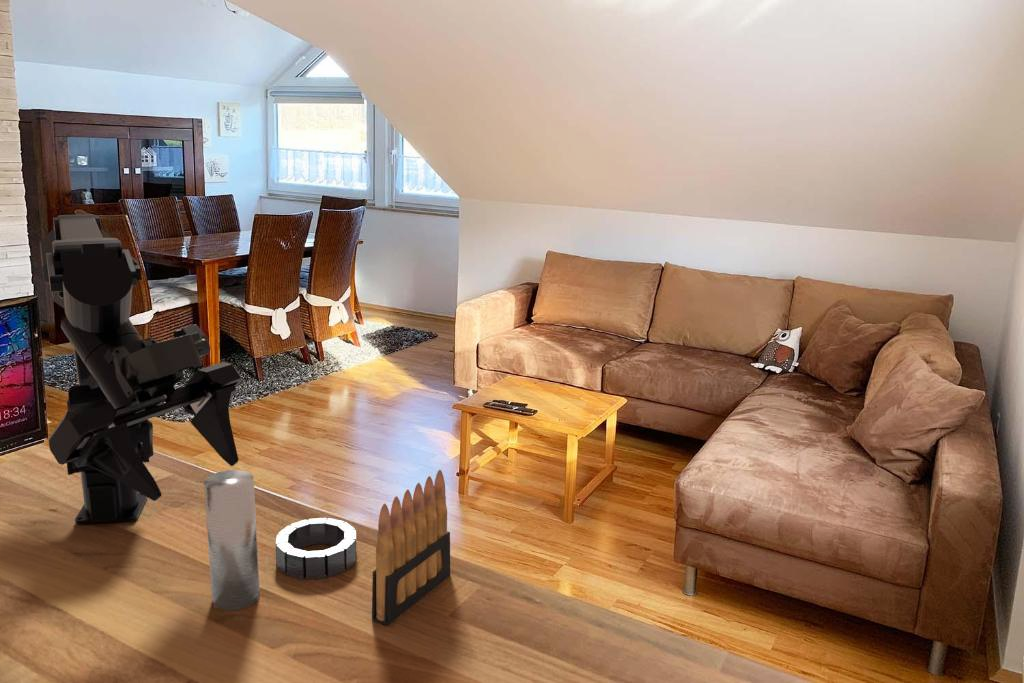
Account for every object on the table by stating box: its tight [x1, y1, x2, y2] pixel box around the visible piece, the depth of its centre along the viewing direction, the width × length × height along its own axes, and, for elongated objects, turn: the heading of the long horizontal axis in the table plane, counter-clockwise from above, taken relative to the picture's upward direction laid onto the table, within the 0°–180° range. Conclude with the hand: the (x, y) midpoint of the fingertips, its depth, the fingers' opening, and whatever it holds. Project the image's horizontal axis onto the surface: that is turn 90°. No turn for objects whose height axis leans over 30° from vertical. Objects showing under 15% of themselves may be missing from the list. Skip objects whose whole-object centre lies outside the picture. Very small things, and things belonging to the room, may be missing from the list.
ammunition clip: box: [371, 469, 451, 626], centre depth 83 cm, size 11×2×12 cm, turn 150°
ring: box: [275, 517, 357, 580], centre depth 91 cm, size 8×8×2 cm
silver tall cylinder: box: [203, 469, 261, 612], centre depth 82 cm, size 4×4×12 cm
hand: (198, 480), depth 83 cm, fingers open, 9 cm apart
